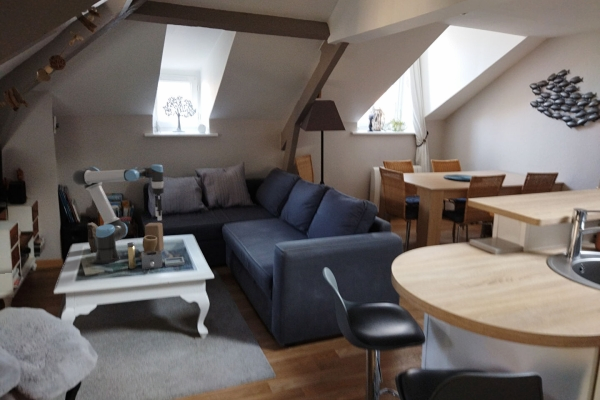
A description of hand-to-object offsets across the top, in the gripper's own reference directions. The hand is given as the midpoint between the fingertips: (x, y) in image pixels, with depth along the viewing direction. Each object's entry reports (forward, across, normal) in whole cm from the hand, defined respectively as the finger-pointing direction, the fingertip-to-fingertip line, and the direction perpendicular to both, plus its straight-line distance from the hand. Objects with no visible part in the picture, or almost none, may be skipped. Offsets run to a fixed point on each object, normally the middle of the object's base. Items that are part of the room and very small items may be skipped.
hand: (158, 218), depth 312 cm
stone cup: (+27, +1, +7) cm, 28 cm away
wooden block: (+27, +14, +2) cm, 31 cm away
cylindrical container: (+27, -20, +19) cm, 38 cm away
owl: (+28, +34, +40) cm, 59 cm away
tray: (+26, -21, -7) cm, 35 cm away
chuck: (+27, -23, +7) cm, 36 cm away
